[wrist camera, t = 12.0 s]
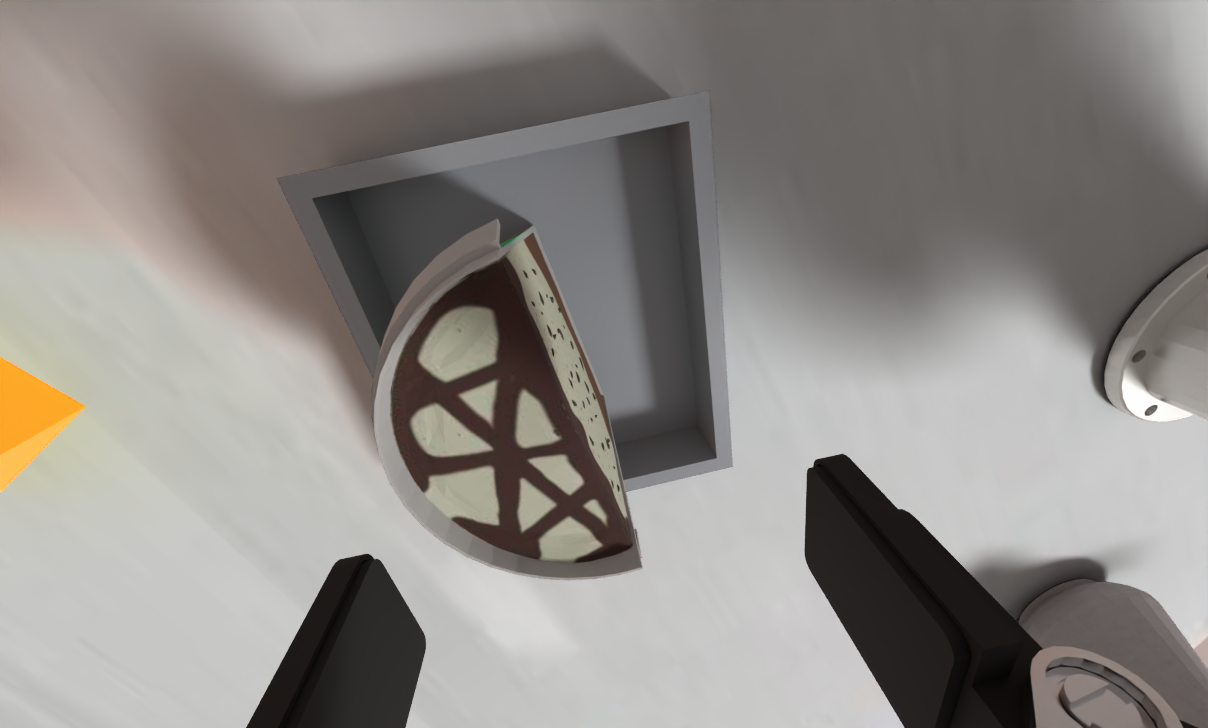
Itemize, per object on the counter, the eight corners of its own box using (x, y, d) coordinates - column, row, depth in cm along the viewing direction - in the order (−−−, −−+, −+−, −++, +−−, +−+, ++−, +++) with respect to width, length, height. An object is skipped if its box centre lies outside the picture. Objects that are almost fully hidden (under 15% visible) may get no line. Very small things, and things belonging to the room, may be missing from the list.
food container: (386, 241, 19) (237, 328, 10) (519, 189, 19) (486, 232, 10) (508, 454, 25) (482, 631, 16) (613, 417, 24) (647, 578, 15)
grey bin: (677, 101, 19) (708, 90, 15) (706, 423, 27) (732, 466, 23) (327, 172, 18) (276, 178, 15) (460, 481, 26) (448, 533, 23)
